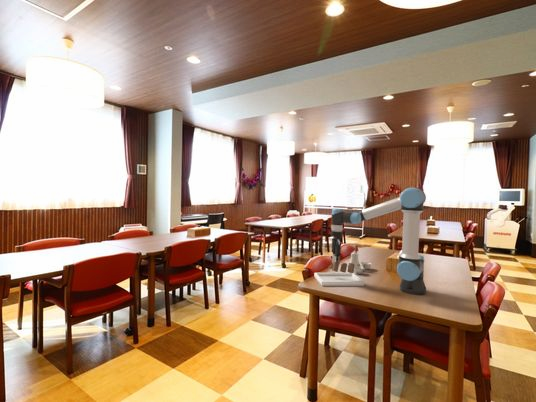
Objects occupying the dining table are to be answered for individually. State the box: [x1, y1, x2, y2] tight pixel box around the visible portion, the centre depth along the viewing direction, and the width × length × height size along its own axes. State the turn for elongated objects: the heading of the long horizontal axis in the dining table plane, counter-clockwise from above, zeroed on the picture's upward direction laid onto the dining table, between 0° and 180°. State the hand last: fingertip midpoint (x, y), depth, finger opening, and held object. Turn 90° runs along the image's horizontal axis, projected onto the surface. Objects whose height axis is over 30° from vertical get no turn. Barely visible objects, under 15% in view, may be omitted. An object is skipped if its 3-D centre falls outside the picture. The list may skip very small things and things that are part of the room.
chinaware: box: [347, 249, 373, 275], centre depth 216 cm, size 28×17×17 cm, turn 145°
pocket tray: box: [313, 272, 365, 287], centre depth 188 cm, size 20×28×3 cm
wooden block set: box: [327, 256, 354, 273], centre depth 188 cm, size 18×9×10 cm, turn 54°
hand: (335, 264), depth 189 cm, fingers closed on wooden block set, 4 cm apart
